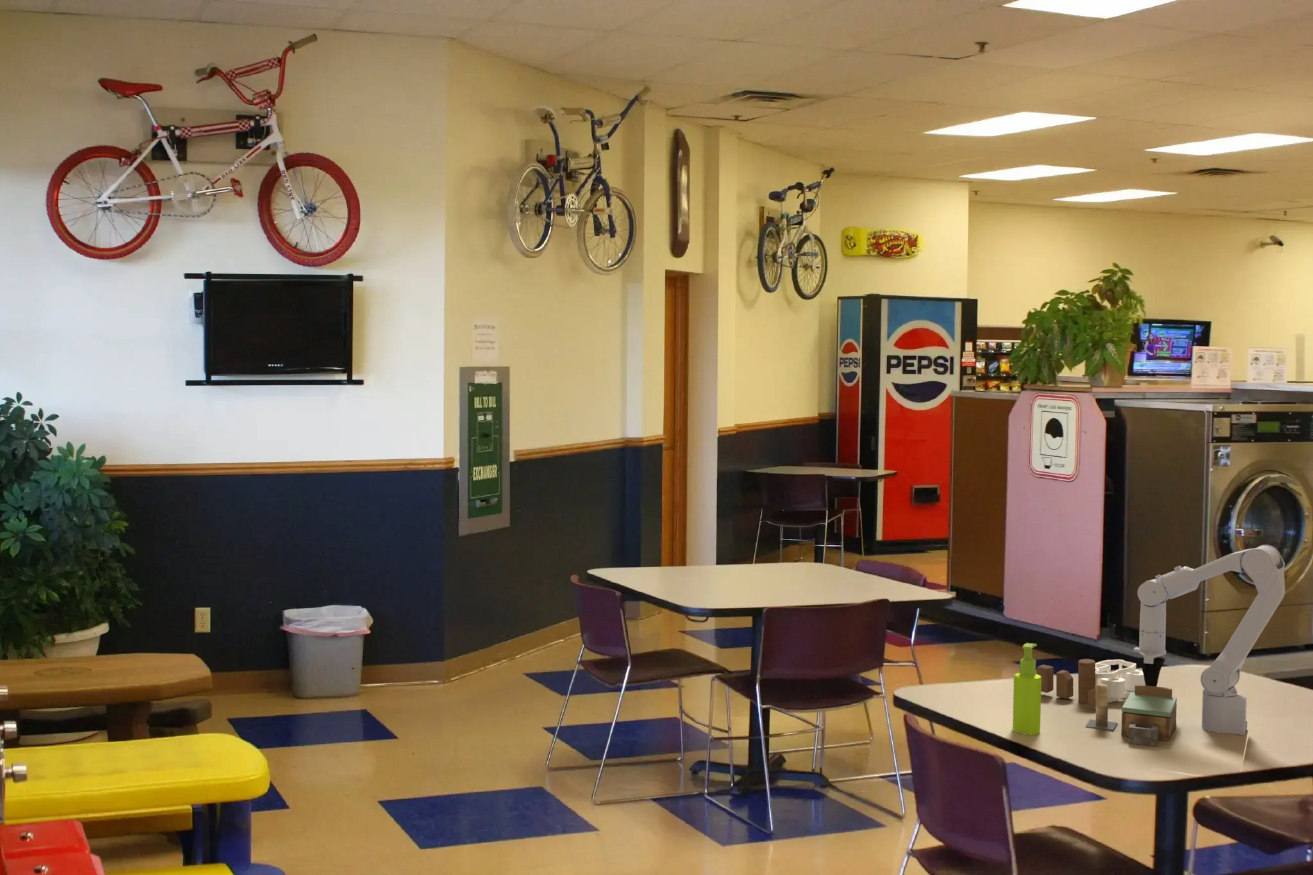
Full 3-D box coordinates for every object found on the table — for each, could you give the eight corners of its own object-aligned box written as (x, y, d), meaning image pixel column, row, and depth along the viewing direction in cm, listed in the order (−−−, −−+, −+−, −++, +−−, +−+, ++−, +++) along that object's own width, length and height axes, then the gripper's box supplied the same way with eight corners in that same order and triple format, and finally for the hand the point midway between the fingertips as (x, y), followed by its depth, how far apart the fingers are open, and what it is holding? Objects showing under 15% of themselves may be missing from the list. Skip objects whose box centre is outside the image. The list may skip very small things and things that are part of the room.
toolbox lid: (1176, 701, 303) (1177, 688, 303) (1169, 717, 289) (1170, 703, 289) (1130, 696, 308) (1131, 683, 307) (1121, 711, 293) (1122, 698, 293)
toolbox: (1176, 724, 303) (1176, 702, 303) (1166, 747, 284) (1167, 724, 283) (1130, 718, 308) (1130, 697, 308) (1117, 741, 288) (1118, 719, 288)
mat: (1117, 724, 303) (1117, 722, 303) (1113, 731, 297) (1113, 729, 297) (1090, 721, 306) (1090, 719, 305) (1085, 727, 299) (1085, 726, 299)
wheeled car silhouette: (1114, 706, 320) (1115, 676, 320) (1072, 698, 328) (1073, 669, 328) (1153, 694, 334) (1153, 665, 333) (1112, 686, 342) (1113, 658, 341)
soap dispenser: (1044, 731, 296) (1046, 643, 295) (1036, 738, 290) (1038, 648, 289) (1017, 727, 299) (1019, 640, 298) (1009, 734, 293) (1011, 645, 292)
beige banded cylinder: (1110, 724, 301) (1110, 685, 300) (1103, 726, 299) (1103, 687, 299) (1099, 722, 303) (1099, 683, 302) (1093, 724, 301) (1093, 685, 301)
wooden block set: (1032, 698, 327) (1032, 658, 326) (1051, 690, 333) (1050, 651, 332) (1099, 714, 314) (1099, 672, 313) (1117, 705, 320) (1117, 664, 318)
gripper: (1138, 624, 317) (1136, 680, 317) (1130, 634, 304) (1129, 692, 304) (1169, 627, 314) (1167, 683, 314) (1163, 637, 301) (1161, 696, 301)
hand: (1151, 688), depth 309 cm, fingers closed
